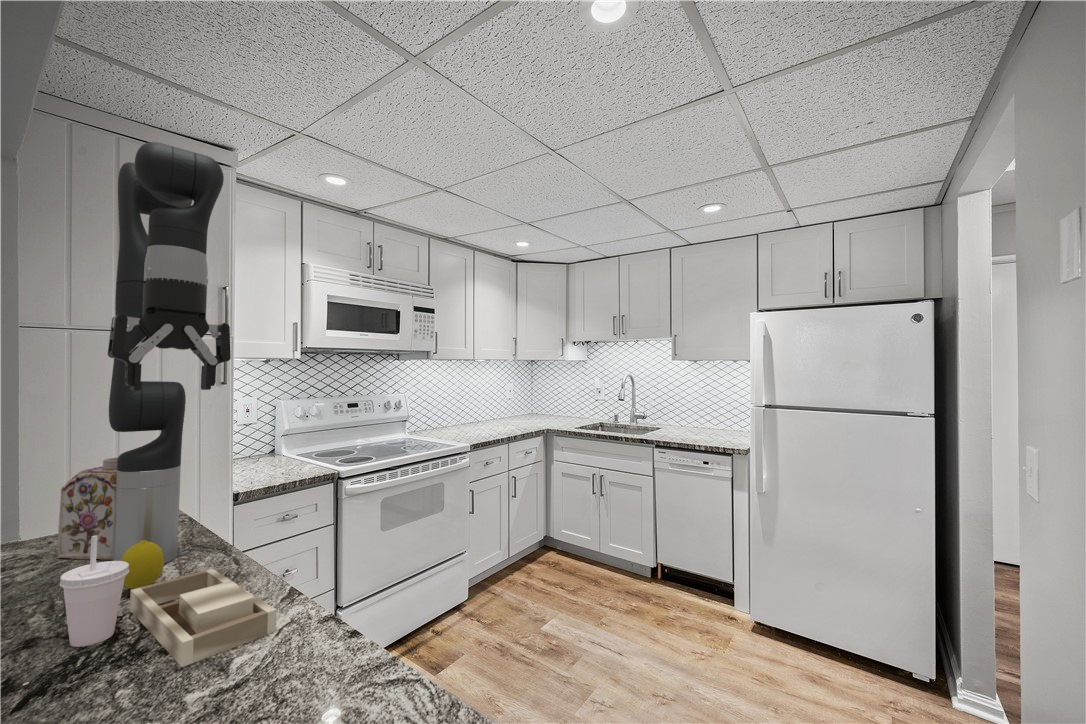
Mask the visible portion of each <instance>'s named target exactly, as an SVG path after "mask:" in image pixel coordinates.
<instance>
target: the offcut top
mask: <svg viewBox="0 0 1086 724" xmlns="http://www.w3.org/2000/svg"><path fill="white" fill-rule="evenodd" d="M235 583H236V582H234V581H233V580H231V581H229V582H225V583H221V584H218V585H214V586H210V587H206V588H203V589H199V590H195V591H192V592H188V593H184V594H180V597H179V598H178V600H179V611H180V612H181V613H182V614H183V615H184V617H185V618H186V619H187V620H188V621H189V622H190V623H191V624H192V625H193V627H194V628H195V629H196V630H197V631H200V630H203V629H206V628H209V627H212V626H215V625H218V624H221V623H224V622H228V621H231V620H234V619H237V618H240V617H243V616H246V615H249V614H252V613H253V600H254V597H252V596H251V595H250V594H248V593H247V592H246V591H245V590H246V589H245V590H243V589H244V588H243V587H242V586H240V585H239V584H237V583H236V584H235ZM238 585H239V586H240V587H239V586H238ZM241 587H242V588H243V589H242V588H241Z"/></svg>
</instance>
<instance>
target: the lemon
mask: <svg viewBox="0 0 1086 724" xmlns="http://www.w3.org/2000/svg"><path fill="white" fill-rule="evenodd" d="M121 561H124V562H127V563H128V564H129V572H128V574H126V575H125V579H124V585H123V586H124V587H126V588H128V589H130V590H132V589H136V588H140V587H144V586H148V585H152V584H155V583H154V582H156V581H157V580H158V579H159V578H160V577H161V575H162V573H163V571H164V567H165V563H164V555H163V552H162V550H161V548H160V547H159V546H158V545H157V544H155V543H152V542H147V541H146V540H142V541H140V542H139V543H137V544H135V545H133V546H132V547H130V548H129V549H128V550H127V551H126V552H125V553H124V555H123V557H122V559H121Z"/></svg>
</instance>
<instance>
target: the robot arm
mask: <svg viewBox="0 0 1086 724" xmlns="http://www.w3.org/2000/svg"><path fill="white" fill-rule="evenodd" d="M220 165H221V164H220V163H218V161H216V159H214V158H212V157H211V156H208V155H205V154H202V153H198V152H194V151H191V150H188V149H184V148H180V147H178V146H177V147H176V146H173V145H169V144H166V143H162V142H156V141H150V142H149V141H148V142H146V143H143V144H142V145H141V146H139V148H138V149H137V152H136V153H135V157H134V162H127V161H126V162H125V163H124V164H122V165H121V167H120V169H119V171H118V178H117V203H118V204H117V207H118V230H119V231H118V233H119V234H118V237H119V238H118V239H119V240H118V257H117V268H116V279H115V280H116V281H115V301H114V302H115V303H114V305H115V309H114V310H115V312H114V313H115V315H114V316H113V317H112V318H111V325H110V333H109V339H108V340H109V341H108V348H107V356H108V357H109V358H111V359H113V365H112V371H111V372H112V374H111V380H110V381H111V382H110V390H109V399H108V400H109V402H108V420H109V425H110V427H111V429H112V430H113V431H114V432H118V433H129V432H130V433H135V432H151V431H153V432H154V431H160V434H159V435H158V437H156V438H155V439H153V440H151V441H150V442H148V443H146V444H144V445H142V446H139V447H135V448H132V449H130V450H127V451H124V452H123V453H120V454H119V455H118V456H117V457H118V460H117V477H116V500H115V521H114V542H113V560H112V561H121V559H122V557H123V555H124V553H125V552H126V551H127V550H128V549H129V548H130V547H132V546H133V545H135V544H137V543H139V542H140V541H142V540H146V541H147V542H152V543H155V544H157V545H158V546H159V547H160V548H161V550H162V552H163V555H164V564H166V563H169V562H171V561H173V560H174V559H176V558H177V557H178V541H179V539H178V537H179V522H180V521H179V519H180V517H179V516H180V496H181V495H180V493H181V492H180V491H181V473H182V472H181V468H182V447H183V446H182V444H183V433H184V432H183V431H184V423H185V414H186V413H185V412H186V390H185V387H184V386H183V384H182V383H180V382H179V381H178V382H177V381H159V380H158V381H154V380H153V381H152V380H151V381H147V380H144V381H143V380H142V365H143V364H142V363H141V362H142V360H143V359H144V357H145V356H146V355H147V354H148V353H149V352H151V351H152V350H153V349H154V348H155V347H156V348H158V349H171V348H173V349H176V350H183V351H185V350H190V351H192V353H193V354H194V355H195V356H196V357H198V360H200V361H201V362H202V364H203V365H201V370H200V371H201V374H200V390H204V391H210V390H211V389H212V387H215V384H216V382H217V379H216V376H217V366H218V365H219V364H221V363H224V362H229V361H230V360H231V355H232V354H231V329H230V328H231V327H230V325H229V324H228V323H222V324H209V323H208V322H207V297H208V295H207V294H208V284H209V275H208V270H209V268H208V261H207V248H208V245H207V244H208V232H209V231H208V230H209V225H210V220H211V216H212V213H213V211H214V207H215V204H216V203H217V200H218V198H219V197H220V193H221V191H222V189H223V185H224V179H225V178H224V173H223V169H222V167H221V166H220ZM141 214H142V215H148V229H147V230H148V231H146V229H145V225H144V223H143V220H142V216H141ZM147 232H148V233H147ZM207 333H210V335H211V337H212V338H214V339H215V355H214V354H213V352H212V351H211V350H210V348H209V346H208V345H207V344H206V342H205V341H204V339H203V337H204V336H205V335H207Z"/></svg>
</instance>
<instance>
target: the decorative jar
mask: <svg viewBox="0 0 1086 724" xmlns="http://www.w3.org/2000/svg"><path fill="white" fill-rule="evenodd" d="M118 457H119V456H117V457H116V456H114V457H108V458H105V459H103V460H102V466H98V467H92V468H87V469H83V470H81V471H80V472H77V474H75V475H74V476H72V477H71V478H70V480H68V481H67V482H66V484H64V485H63V486H62V487H61V490H60V504H59V518H58V533H57V536H58V538H57V559H58V558H71V559H70V560H90V557H91V538H92V536H98V538H97V557H96V559H100V560H99V561H101V560H102V561H113V542H114V521H115V500H116V477H117V460H118Z"/></svg>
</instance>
